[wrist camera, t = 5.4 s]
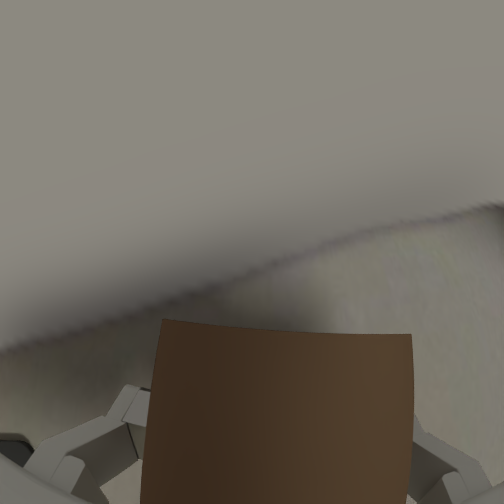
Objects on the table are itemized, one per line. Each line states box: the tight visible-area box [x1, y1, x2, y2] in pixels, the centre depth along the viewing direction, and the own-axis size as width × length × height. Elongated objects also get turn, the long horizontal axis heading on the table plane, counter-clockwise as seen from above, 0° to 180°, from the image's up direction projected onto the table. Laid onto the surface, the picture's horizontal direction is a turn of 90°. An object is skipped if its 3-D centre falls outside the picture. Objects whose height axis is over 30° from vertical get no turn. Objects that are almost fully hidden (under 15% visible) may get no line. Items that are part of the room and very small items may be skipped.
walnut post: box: [140, 319, 414, 504], centre depth 8 cm, size 4×4×10 cm
